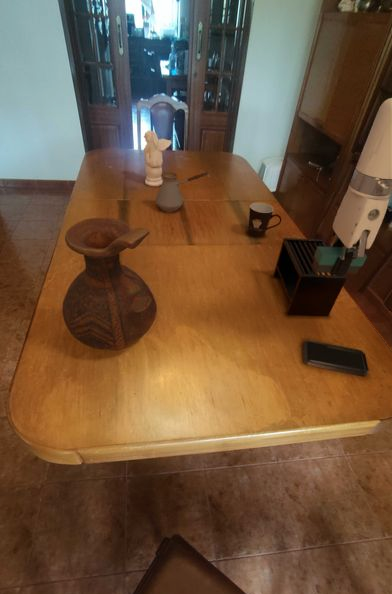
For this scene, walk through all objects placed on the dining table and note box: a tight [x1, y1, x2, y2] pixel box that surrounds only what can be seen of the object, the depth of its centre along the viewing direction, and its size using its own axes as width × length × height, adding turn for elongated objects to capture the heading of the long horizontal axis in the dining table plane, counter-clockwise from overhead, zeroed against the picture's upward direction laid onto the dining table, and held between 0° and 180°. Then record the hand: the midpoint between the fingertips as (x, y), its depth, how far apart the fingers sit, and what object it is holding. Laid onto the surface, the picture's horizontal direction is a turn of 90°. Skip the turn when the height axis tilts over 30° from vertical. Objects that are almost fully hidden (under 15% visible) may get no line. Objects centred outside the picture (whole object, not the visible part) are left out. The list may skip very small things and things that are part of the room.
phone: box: [302, 339, 369, 377], centre depth 78 cm, size 8×1×15 cm
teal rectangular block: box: [312, 246, 368, 275], centre depth 71 cm, size 10×4×4 cm, turn 93°
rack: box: [272, 237, 348, 317], centre depth 92 cm, size 12×20×13 cm, turn 2°
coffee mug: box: [247, 202, 282, 239], centre depth 118 cm, size 12×9×10 cm
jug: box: [61, 217, 158, 351], centre depth 70 cm, size 22×22×30 cm
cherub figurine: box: [143, 130, 172, 187], centre depth 143 cm, size 12×12×22 cm
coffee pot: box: [155, 171, 210, 213], centre depth 128 cm, size 21×12×15 cm, turn 87°
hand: (334, 268), depth 72 cm, fingers closed on teal rectangular block, 3 cm apart
